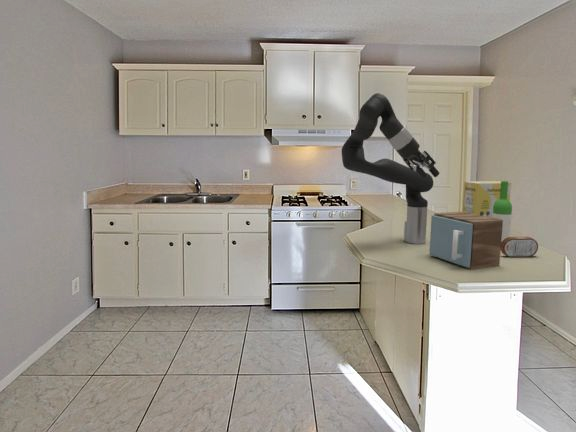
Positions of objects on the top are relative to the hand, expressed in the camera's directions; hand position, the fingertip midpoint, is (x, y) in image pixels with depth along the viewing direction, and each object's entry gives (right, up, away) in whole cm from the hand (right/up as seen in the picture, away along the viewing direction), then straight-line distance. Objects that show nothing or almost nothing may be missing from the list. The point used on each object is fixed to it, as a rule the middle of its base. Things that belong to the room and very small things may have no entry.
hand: (431, 176), depth 166 cm
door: (+9, -32, +13) cm, 36 cm away
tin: (+44, -32, +24) cm, 59 cm away
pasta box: (+44, -26, +59) cm, 78 cm away
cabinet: (+19, -32, +17) cm, 41 cm away
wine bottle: (+44, -29, +41) cm, 67 cm away
